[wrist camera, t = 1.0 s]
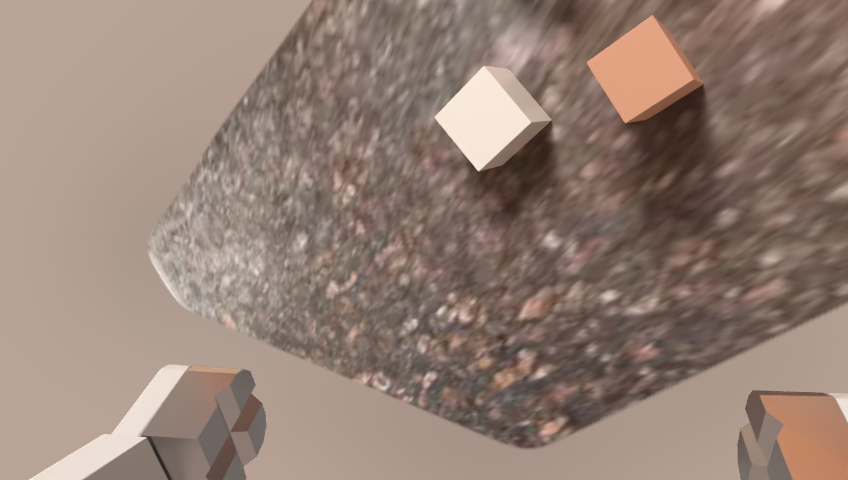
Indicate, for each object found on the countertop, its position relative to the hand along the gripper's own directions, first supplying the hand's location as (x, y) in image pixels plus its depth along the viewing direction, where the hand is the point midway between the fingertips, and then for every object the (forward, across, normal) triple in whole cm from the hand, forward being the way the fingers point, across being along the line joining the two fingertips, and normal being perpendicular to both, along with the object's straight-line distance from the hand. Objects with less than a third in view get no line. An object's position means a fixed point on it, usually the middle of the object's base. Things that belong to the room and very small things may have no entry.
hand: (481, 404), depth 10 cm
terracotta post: (+35, -8, +6) cm, 36 cm away
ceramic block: (+37, +2, +9) cm, 38 cm away
